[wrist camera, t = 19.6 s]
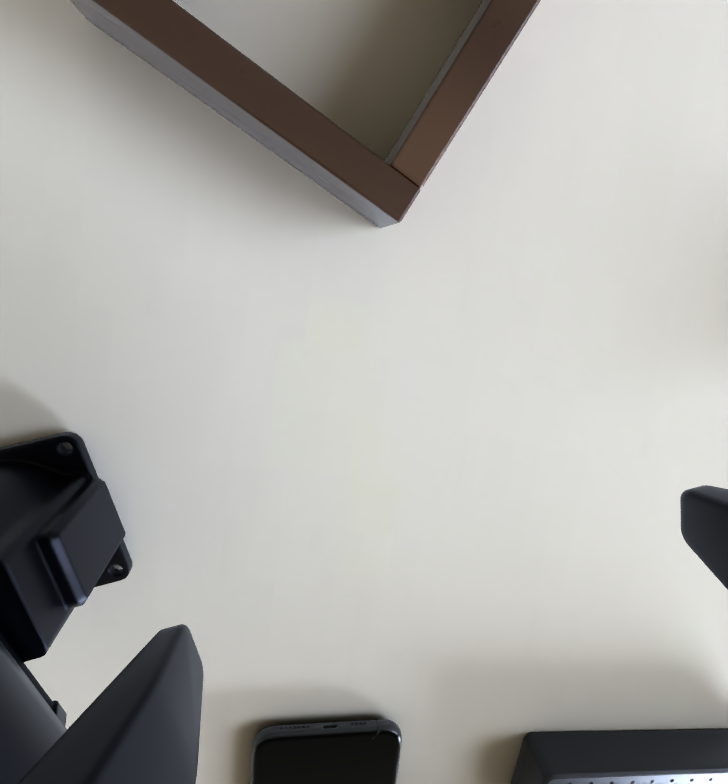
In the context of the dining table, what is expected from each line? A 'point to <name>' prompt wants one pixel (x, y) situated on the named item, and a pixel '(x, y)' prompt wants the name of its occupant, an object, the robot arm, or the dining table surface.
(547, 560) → the dining table surface
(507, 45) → the frame
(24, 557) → the robot arm
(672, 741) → the multiport hub
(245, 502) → the dining table surface
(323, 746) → the smartphone
